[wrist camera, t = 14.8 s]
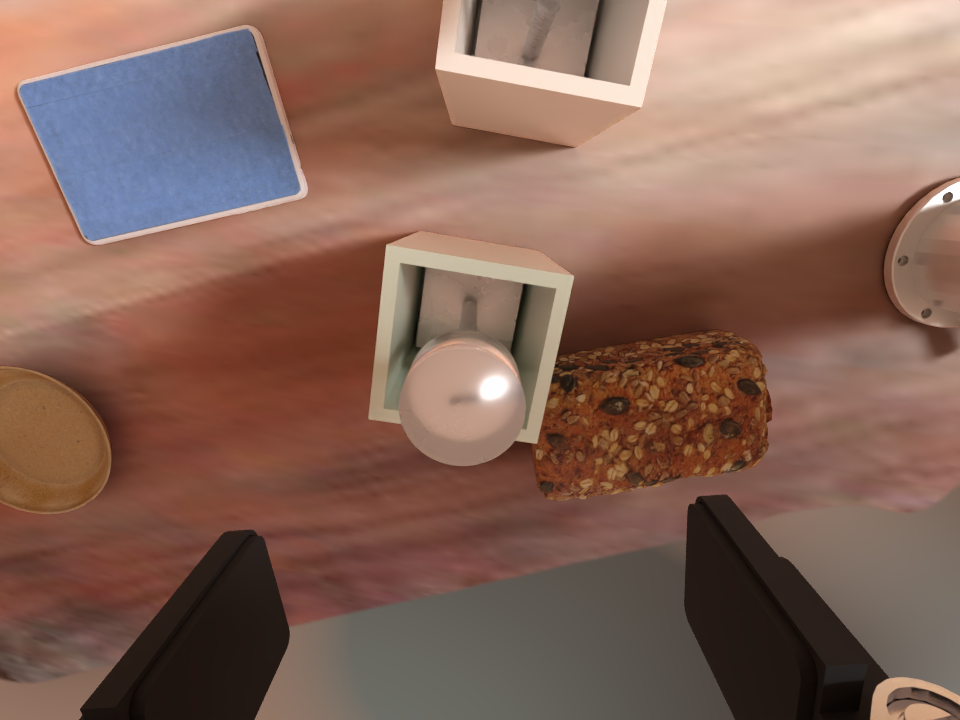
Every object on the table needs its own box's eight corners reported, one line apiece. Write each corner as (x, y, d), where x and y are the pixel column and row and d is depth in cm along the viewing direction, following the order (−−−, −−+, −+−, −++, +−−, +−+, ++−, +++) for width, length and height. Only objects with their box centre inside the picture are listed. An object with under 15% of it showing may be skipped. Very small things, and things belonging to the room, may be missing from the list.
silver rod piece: (525, 267, 38) (578, 332, 18) (507, 358, 40) (537, 505, 20) (428, 251, 37) (375, 299, 18) (416, 344, 40) (357, 479, 20)
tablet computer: (261, 25, 36) (253, 18, 35) (313, 197, 40) (308, 197, 39) (24, 85, 37) (8, 80, 36) (96, 247, 41) (84, 249, 40)
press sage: (537, 250, 41) (574, 276, 26) (516, 361, 44) (537, 443, 28) (420, 230, 40) (386, 244, 25) (406, 344, 43) (368, 419, 28)
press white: (606, 1, 35) (704, -155, 20) (576, 147, 38) (641, 107, 23) (471, -26, 35) (468, -207, 20) (451, 124, 38) (434, 68, 23)
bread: (529, 456, 47) (542, 519, 37) (513, 352, 44) (523, 393, 34) (722, 427, 46) (786, 484, 37) (720, 319, 43) (790, 351, 33)
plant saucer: (-61, 370, 44) (-93, 380, 41) (93, 346, 43) (70, 354, 41) (11, 507, 48) (-14, 524, 46) (152, 487, 48) (134, 502, 45)
